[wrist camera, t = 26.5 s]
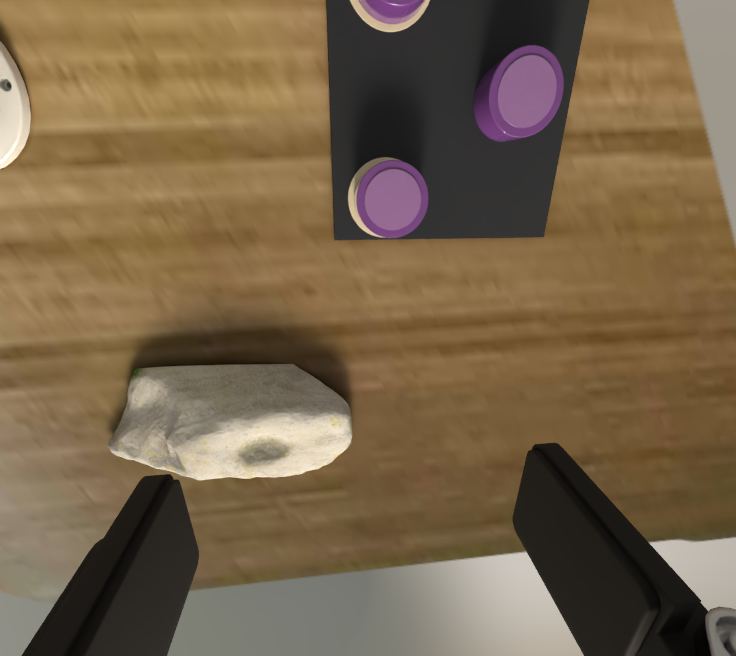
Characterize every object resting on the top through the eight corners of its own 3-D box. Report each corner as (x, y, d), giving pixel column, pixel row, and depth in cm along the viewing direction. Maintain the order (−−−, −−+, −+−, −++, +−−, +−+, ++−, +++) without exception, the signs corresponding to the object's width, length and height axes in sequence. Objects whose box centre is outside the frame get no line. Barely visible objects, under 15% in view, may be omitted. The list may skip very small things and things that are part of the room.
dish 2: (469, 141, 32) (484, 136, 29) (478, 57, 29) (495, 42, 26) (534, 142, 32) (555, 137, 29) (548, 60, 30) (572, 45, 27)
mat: (334, 239, 34) (334, 240, 34) (323, -96, 25) (323, -102, 25) (541, 236, 36) (544, 237, 36) (600, -72, 27) (604, -76, 27)
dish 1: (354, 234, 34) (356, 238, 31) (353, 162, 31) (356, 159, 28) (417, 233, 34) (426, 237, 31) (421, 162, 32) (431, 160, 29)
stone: (372, 392, 37) (347, 492, 42) (358, 358, 43) (337, 450, 49) (61, 381, 29) (81, 508, 34) (100, 342, 35) (111, 454, 41)
